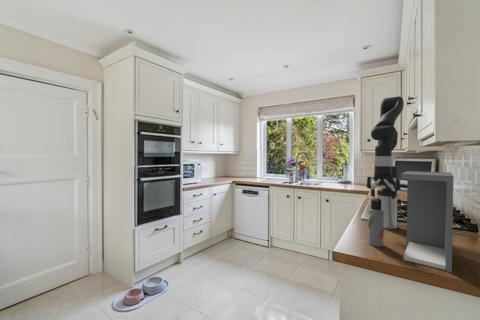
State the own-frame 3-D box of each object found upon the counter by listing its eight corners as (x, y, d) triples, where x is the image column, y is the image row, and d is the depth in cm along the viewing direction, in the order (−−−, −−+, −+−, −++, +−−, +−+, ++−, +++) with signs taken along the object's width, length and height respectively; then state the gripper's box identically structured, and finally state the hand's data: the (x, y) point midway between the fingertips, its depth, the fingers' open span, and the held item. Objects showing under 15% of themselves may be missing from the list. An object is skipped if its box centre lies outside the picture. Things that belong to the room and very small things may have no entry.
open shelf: (406, 242, 101) (408, 171, 100) (449, 251, 92) (451, 172, 91) (400, 259, 84) (401, 173, 84) (451, 272, 75) (453, 175, 74)
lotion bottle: (384, 244, 99) (385, 198, 99) (381, 248, 95) (381, 200, 95) (370, 240, 103) (371, 197, 103) (366, 244, 99) (366, 198, 99)
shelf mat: (409, 245, 98) (409, 241, 98) (444, 252, 91) (444, 248, 91) (403, 259, 84) (403, 255, 84) (445, 270, 76) (445, 265, 76)
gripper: (401, 165, 112) (401, 198, 111) (369, 165, 122) (369, 195, 121) (398, 165, 106) (398, 200, 106) (365, 165, 116) (365, 197, 116)
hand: (383, 197), depth 114 cm, fingers open, 8 cm apart
